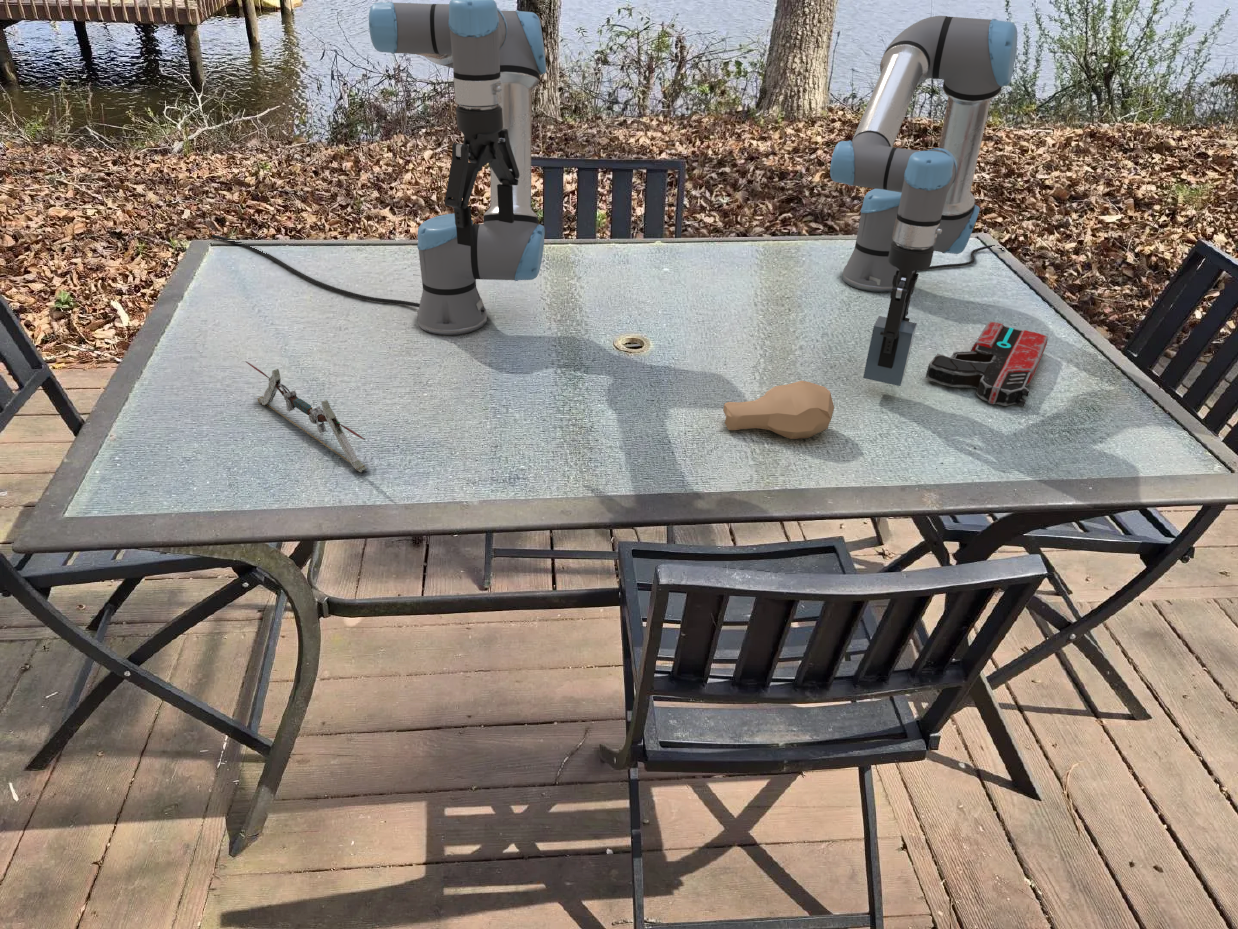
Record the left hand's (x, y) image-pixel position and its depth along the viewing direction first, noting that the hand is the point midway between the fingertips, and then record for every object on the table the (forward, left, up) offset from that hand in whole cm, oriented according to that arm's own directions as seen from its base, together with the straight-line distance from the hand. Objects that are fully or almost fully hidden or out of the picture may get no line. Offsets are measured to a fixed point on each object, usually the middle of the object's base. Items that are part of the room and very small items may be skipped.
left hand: (486, 232), depth 154 cm
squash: (+47, +29, -31) cm, 63 cm away
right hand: (+52, +55, -24) cm, 80 cm away
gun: (+62, +82, -31) cm, 107 cm away
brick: (+52, +55, -27) cm, 81 cm away
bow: (-8, -35, -31) cm, 48 cm away
